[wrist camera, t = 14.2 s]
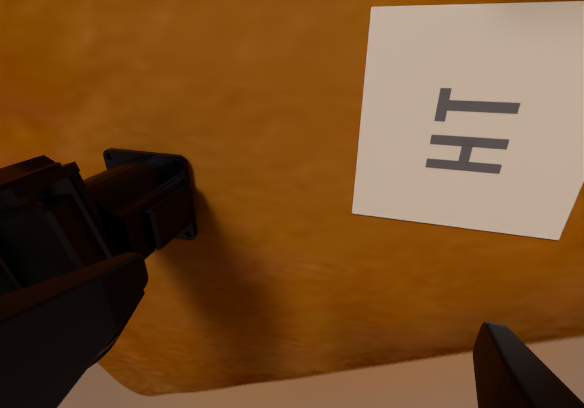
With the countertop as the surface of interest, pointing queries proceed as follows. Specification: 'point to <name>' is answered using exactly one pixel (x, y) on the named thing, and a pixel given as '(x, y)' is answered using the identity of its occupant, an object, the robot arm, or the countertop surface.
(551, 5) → the card
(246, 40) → the countertop surface
